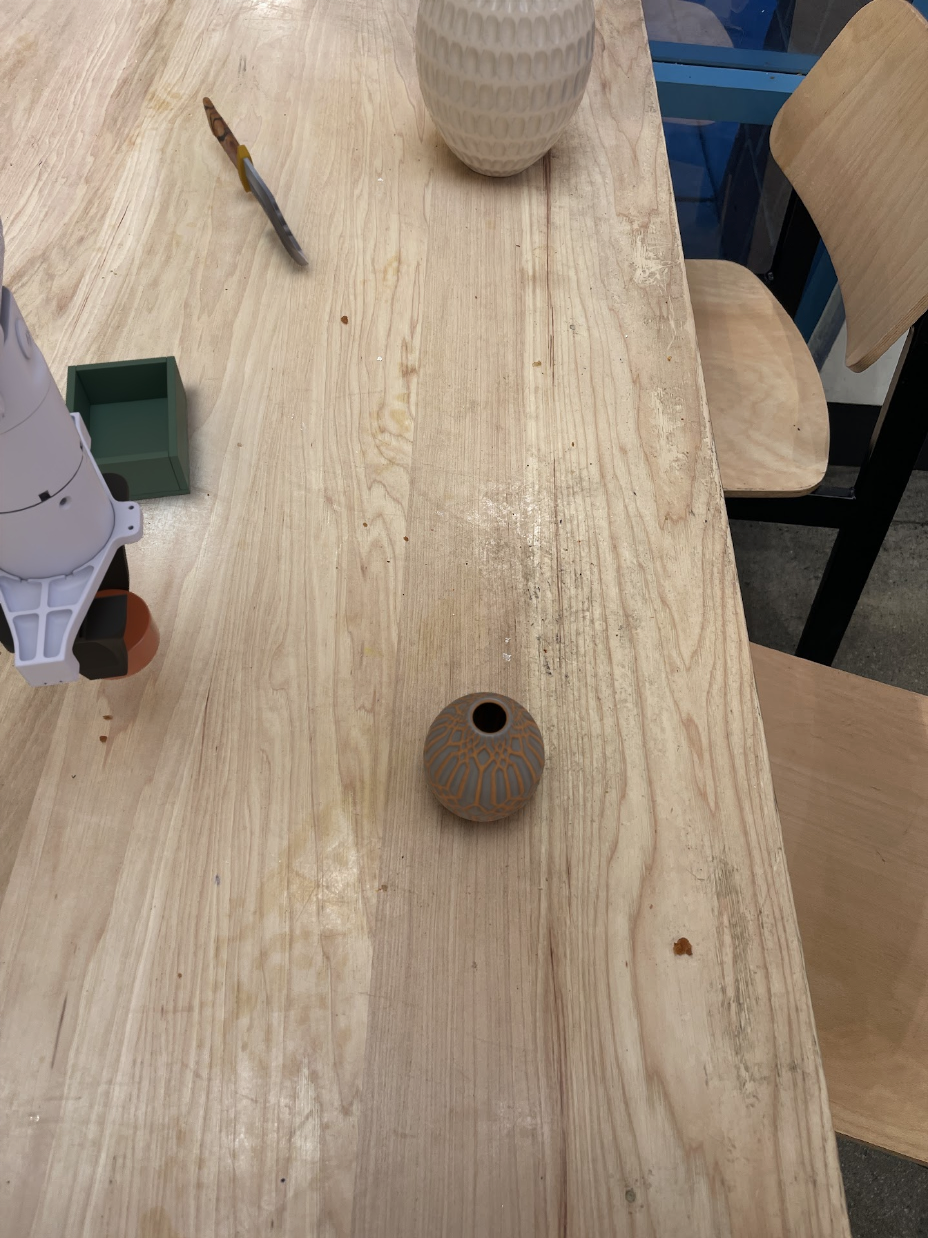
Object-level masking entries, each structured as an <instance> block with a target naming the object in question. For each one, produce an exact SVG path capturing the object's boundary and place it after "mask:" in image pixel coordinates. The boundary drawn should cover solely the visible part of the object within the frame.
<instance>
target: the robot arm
mask: <svg viewBox="0 0 928 1238" xmlns="http://www.w3.org/2000/svg"><path fill="white" fill-rule="evenodd" d="M5 250H6V241H5V236H4V226H3V222H2V217H1V216H0V643H1V645H2V646H3V647H4V648H5V650H6V651H7V652H8V653H10V654H14V663H13V666H14V668H15V669H16V671H18V673H19V674H20V675H21V676H22V678H23V680H25V681H26V683H27V684H28V685H29V687H30V688H38V687H49V686H56V685H63V684H67V683H75V682H78V681H79V680H80V675H81V676H82V677H84V678H86V679H87V680H89V681H95V680H96V681H97V680H104V678H112V677H119V676H125V675H127V674H128V653H127V648H126V645H125V642H124V638H123V637H124V633H125V628H126V622H127V594H121V595H113V596H105V597H97V598H94V597H95V594H96V592H98V591H102V590H107V589H121V590H126V591H130V579H131V578H130V570H129V569H130V568H129V563H128V557H127V551H126V545H133V544H136V543H138V542H140V541H141V540H142V539H143V537H144V513H143V511H142V508H141V505H140V504H139V503H138V502H137V501H134V500H129V486H128V483H127V481H126V480H125V478H124V477H123V476H121V475H119V474H116V473H102V474H101V472H100V470H99V468H98V466H97V464H96V462H95V460H94V458H93V456H92V454H91V452H90V449H91V438H90V435H89V433H88V431H87V429H86V426H85V424H84V422H83V420H82V417H81V415H80V413H79V412H76V413H69V411H68V408H67V406H66V401H65V400H64V398H63V395H62V393H61V391H60V389H59V387H58V384H57V382H56V381H55V377H54V375H53V374H52V372H51V370H50V369H51V368H50V367H49V365H48V363H47V361H46V359H45V356H44V354H43V352H42V350H41V349H40V347H39V345H38V344H37V343H36V342H35V340H34V338H33V335H32V333H31V331H30V329H29V326H28V325H27V322H26V320H25V318H24V316H23V314H22V311H21V309H20V307H19V305H18V303H17V301H16V299H15V297H14V294H13V292H12V290H11V289H10V288H9V287H8V286H5V285H4V284H3V280H4V264H5V252H6V251H5Z"/></svg>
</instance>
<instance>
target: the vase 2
mask: <svg viewBox="0 0 928 1238" xmlns="http://www.w3.org/2000/svg"><path fill="white" fill-rule="evenodd" d="M422 760H423V762H422V763H423V770H424V774H425V779H426V781H427V784H428V786H429V788H430V791H431V792H432V794H433V795H434V797H435V798H436V799H437V801H438V802H439V803H440V804H441V805H442V806H443V807H444V808H446V809H447V810H448V811H449V812H451V813H452V814H454V815H456V816H458V817H459V818H463V819H465V820H468V821H474V822H492V821H493V822H494V821H497V820H501V819H504V818H507V817H509V816H511V815H513V814H514V813H516V812H517V811H519V810H520V809H521V808H522V807H524V806H525V805H526V804H527V803H528V802H529V801H530V800H531V798H532V797H533V795H534V794H535V792H536V791H537V789H538V788H539V784H540V782H541V779H542V777H543V773H544V768H545V763H546V750H545V743H544V739H543V736H542V733H541V730H540V728H539V725H538V723H537V722H536V720H535V718H534V717H533V715H532V713H530V712H529V711H528V709H526V708H525V707H524V706H523V705H522V704H521V703H519V702H518V701H516V700H515V699H513V698H512V697H509V696H507V695H504V694H501V693H497V692H490V691H478V692H473V693H468V694H466V695H465V694H464V695H462V696H460V697H459V698H458V697H457V698H456V699H455V700H453V701H451V702H450V703H449V704H447V705H446V706H445V707H444V708H443V709H442V710H441V711H440V712H439V713H438V714H437V715H436V716H435V718H434V720H433V721H432V723H431V725H430V727H429V728H428V731H427V733H426V736H425V739H424V744H423V752H422Z"/></svg>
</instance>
